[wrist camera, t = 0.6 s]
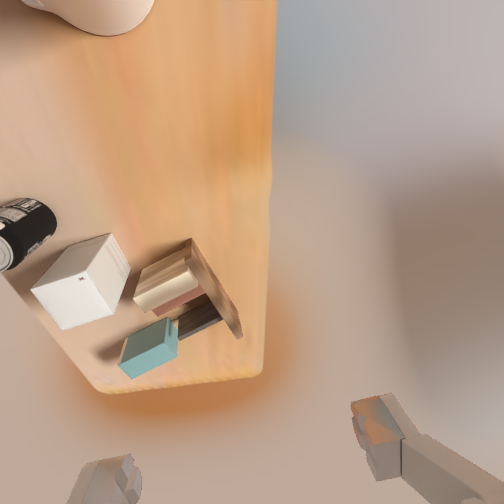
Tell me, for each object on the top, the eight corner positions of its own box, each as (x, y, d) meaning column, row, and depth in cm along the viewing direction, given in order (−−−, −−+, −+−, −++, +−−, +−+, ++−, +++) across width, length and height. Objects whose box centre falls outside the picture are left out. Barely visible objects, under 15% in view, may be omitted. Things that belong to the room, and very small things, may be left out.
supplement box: (67, 245, 45) (26, 288, 34) (112, 231, 46) (87, 269, 35) (90, 282, 49) (60, 332, 38) (132, 269, 49) (115, 315, 38)
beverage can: (40, 246, 45) (-8, 287, 34) (-3, 216, 42) (-69, 251, 31) (68, 219, 44) (29, 253, 33) (27, 187, 41) (-30, 213, 30)
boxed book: (125, 337, 55) (117, 365, 49) (167, 316, 55) (164, 342, 49) (138, 350, 57) (131, 379, 51) (178, 330, 57) (176, 357, 50)
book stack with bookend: (138, 264, 49) (128, 293, 41) (191, 237, 49) (191, 262, 41) (192, 333, 57) (192, 368, 49) (237, 310, 57) (244, 342, 49)
